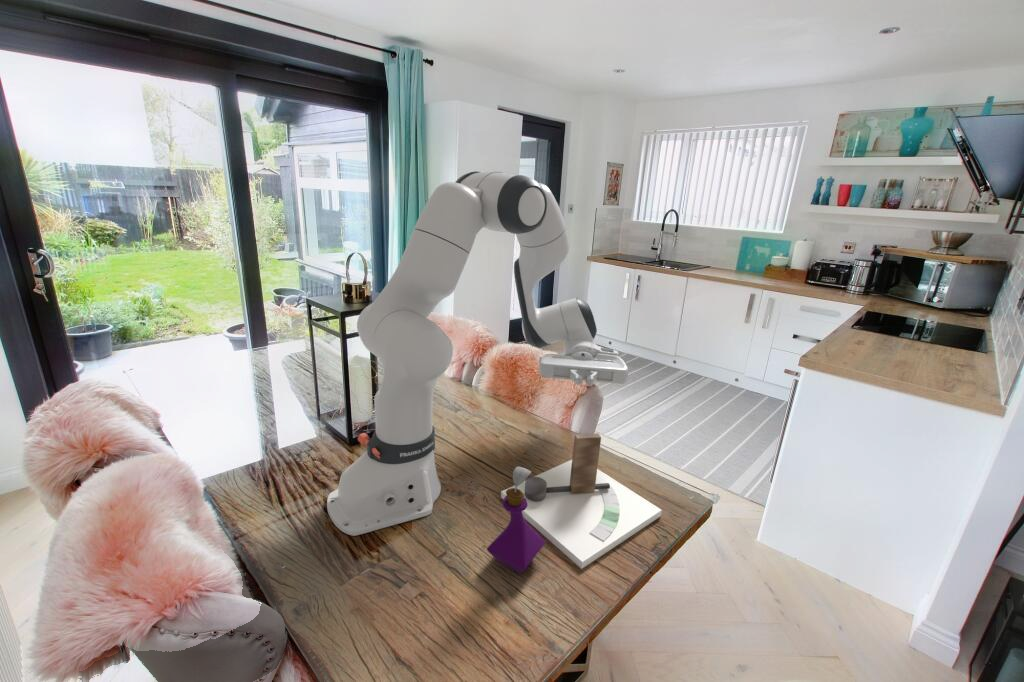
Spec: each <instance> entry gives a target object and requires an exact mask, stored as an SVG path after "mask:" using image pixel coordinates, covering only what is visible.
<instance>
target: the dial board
mask: <svg viewBox="0 0 1024 682" xmlns="http://www.w3.org/2000/svg"><path fill="white" fill-rule="evenodd" d="M571 466H572V459H569V460H568V461H566V462H563V463H561V464H559V465H557V466H555V467H553V468H550V469H548V470H546V471H543V472H541V473H538V474H537V475H534V476H533V477H540V478H542V479H544V480H545V481H546V483H547V487H560V486H569V485H570V476H571ZM526 480H527V479H526ZM526 480H525V481H526ZM525 481H524V482H523V483H522V484H520V485H519V486H517V489H519V490H520V491H521V492H523V494H524V498H525V499H526V500H527V504H528V505H527V507H526V509H525V510H524V511H522V514H523V517H524V519H525V521H526V522H527V523H529V524H530V526H533V527H534V528H535V529H536V530H537V531H538V532H540V534H541V535H543V536H544V537H545V538H546V539H547V540H548V541H549V542H550V543H551V544H553V545H554V546H555V547H556V548H557V549H559V551H560V552H562V553H563V554H564V555H565V556H567V558H568V559H570V560H571V561H572V562H573V563H575V565H576V566H578V567H579V568H580V569H581V570H582V569H584V568H585V567H587V566H588V565H590V564H591V563H593V562H594V561H596V560H597V559H598V558H600V557H602V556H603V555H605V554H606V553H608V552H609V551H611V550H613V549H614V548H616V547H617V546H618V545H620V544H622V543H623V542H624V541H626V540H627V539H629V538H631V537H632V536H634V535H635V534H636V533H638V532H639V531H641V530H642V529H644V528H645V527H647V526H649V525H650V524H651V523H653V522H655V521H656V520H657V519H659V518H660V517H661V516H662V513H663V512H662V511H663V509H660V507H658V506H656V505H655V504H653V503H651V502H650V501H649V500H647V499H645V498H644V497H642V496H641V495H639V494H637V493H636V492H635V491H633V490H631V489H630V488H628V487H627V486H625V485H623V484H622V483H621V482H619V481H617V480H616V479H614V478H612V477H611V476H609V475H608V474H606V473H604V472H603V471H601V470H600V469H598V468H597V475H596V483H595V484H602V483H609V485H610V489H597V490H595V491H594V492H590V493H576V494H571V492H557V493H546V497H545V498H544V499H543V500H540V501H532V500H529V499H528V498H527V497H526V496H525ZM511 488H515V484H514V485H512V486H510V487H508V488H506V489H504V490H501V491H500V498H501V499H502V500H503V499H504V498H505V496H507V495H506V491H507V490H508V489H511Z"/></svg>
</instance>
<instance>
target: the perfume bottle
mask: <svg viewBox="0 0 1024 682" xmlns="http://www.w3.org/2000/svg"><path fill="white" fill-rule="evenodd" d="M531 474H532V471H531V470H529V469H527V468H525V467H521V466H516V467H515V468H514V470H513V472H512V481H513V484H514V485H515V488H511V489H508V490H507V491H506V495H507V496H505V498H504V499H502V506H503V509H504V510H506V511H507V512H510V521H509V522H508V524H507V526H506V527H505V528H504V529H503V530H502V531H501V532H500V534H499V535H498V536H496V538H495V539H494V540H493V541H491V543H490V545H488V547H487V548H486V550H487V552H488V553H489V554H490V555H491V556H492V557H493V558H494V559H495V560H496V561H497V562H498V563H499V564H501V565H502V566H505V567H506V568H508V569H510V570H512V571H514V572H516V573H517V574H521V573H522V572H524V571H525V570H526V569H527V568H528V567H529V565H530V564H531V563H532V561H533V560H534V558H535V557H536V556H537V555H538V554H539V552H540V551H541V549H542V548H543V547H544V546H545V544H546V543H547V541H546V539H544V538H543V537H542V536H541V535H540V534H539V533H538V532H537V531H536V530H535V529H534V528H533V527H532V526H531V525H529V524H528V521H527V520H526V519H525V518H524V517H523V514H522V511H524V510H525V509H526V507H527V505H528V504H527V500H526V499H525V498H524V494H523V492H521V491H520V490H519V489H517V486H519V485H520V484H522V483H523V482H524V481H525V480H527V479H528V478H529V476H530V475H531Z"/></svg>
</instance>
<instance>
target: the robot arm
mask: <svg viewBox="0 0 1024 682" xmlns="http://www.w3.org/2000/svg"><path fill="white" fill-rule="evenodd" d="M564 219H565V218H564V215H563V213H562V211H561V208H560V206H559V203H558V202H557V199H556V198H555V196H554V194H553V192H552V190H550V188H549V186H547V185H546V184H544V183H541V182H538V181H537V180H535V179H533V178H531V177H529V176H526V175H523V174H522V175H521V174H518V175H515V174H511V173H505V172H502V171H476V170H475V171H471V172H468V173H465V174H463V175H461V176H460V177H459V178H457V180H455V181H453V182H452V181H450V182H449V181H448V182H444V183H441V184H439V186H437V187H436V188H435V190H434V191H433V192H432V194H431V196H430V197H429V199H428V201H427V202H426V203H425V205H424V207H423V209H422V211H421V212H420V214H419V216H418V218H417V221H416V223H415V224H414V225H415V226H414V227H413V230H412V233H411V235H410V237H409V240H408V242H407V245H406V246H405V249H404V252H403V253H402V256H401V259H400V261H399V263H398V265H397V267H396V269H395V271H394V273H393V274H392V275H391V278H390V279H389V280H388V281H387V283H386V284H385V286H384V288H382V290H381V291H380V293H379V294H378V296H377V297H376V298H375V300H374V301H373V302H372V303H370V304H368V305H367V306H366V307H365V308H363V310H362V311H361V312H360V314H359V316H358V317H357V322H356V329H357V334H358V336H359V338H360V341H361V342H362V345H364V347H365V349H367V351H369V352H370V353H371V354H372V355H374V356H375V357H376V358H378V359H379V361H380V363H381V367H382V380H381V384H380V388H379V389H378V390H377V392H376V393H375V395H374V398H373V400H374V401H373V402H374V421H375V430H374V432H373V434H372V436H371V437H370V436H369V435H368V434H367V433H365V432H363V433H359V436H358V437H357V441H358V442H359V443H360V445H361V446H363V447H366V451H365V452H364V453H362V455H360V457H358V458H357V460H355V461H354V462H352V464H350V466H348V467H347V468H346V469H345V470H344V471H343V472H342V474H340V479H339V483H338V488H337V489H335V490H333V491H331V492H330V493H329V494H328V496H327V499H326V508H327V509H326V510H327V513H328V516H329V518H330V520H331V521H332V523H333V524H334V525H335V527H337V528H338V529H339V530H340V531H341V532H343V534H344V533H345V534H346V535H349V536H352V537H353V536H354V537H355V536H359V535H363V534H368V533H370V532H374V531H378V530H381V529H384V528H388V527H391V526H396V525H398V524H402V523H405V522H410V521H413V520H416V519H419V518H423V517H426V516H430V514H432V512H433V507H434V503H435V501H436V500H437V499H438V498H439V496H440V494H441V490H442V485H441V481H440V479H439V475H438V472H437V467H436V461H435V452H434V451H435V448H436V435H435V434H436V433H435V431H436V430H435V426H434V425H433V420H434V419H433V409H434V408H433V405H434V403H433V401H434V393H435V388H436V384H437V382H438V379H439V378H440V377H441V376H442V375H443V374H445V372H447V370H448V368H449V367H450V365H451V363H452V360H453V357H454V356H453V355H454V347H453V343H452V340H451V339H450V337H449V336H448V335H447V333H446V332H445V331H444V330H443V329H442V328H441V327H440V326H439V325H438V324H437V323H436V322H434V321H433V320H431V319H430V318H429V316H430V315H431V314H432V312H433V311H434V309H435V308H436V307H437V306H438V305H439V303H440V302H442V301H443V300H444V299H445V298H449V296H451V295H452V294H453V293H454V291H455V290H456V288H457V284H458V283H459V280H460V277H461V275H462V273H463V271H464V268H465V267H466V266H465V265H466V263H467V260H468V258H469V256H470V253H471V251H472V248H473V245H474V242H475V239H476V238H477V237H476V236H477V234H478V233H479V232H480V231H481V230H482V229H483V228H485V229H487V230H489V231H494V232H502V233H510V234H513V235H515V236H516V238H517V241H518V245H519V250H520V252H519V257H518V258H517V259H516V260H515V261H514V263H513V264H514V265H513V274H514V275H513V276H514V283H515V288H516V293H517V298H518V304H519V309H520V315H521V328H522V334H523V336H524V339H525V341H526V343H527V344H528V345H530V346H532V347H535V348H536V349H542V348H544V347H547V346H550V345H552V344H555V343H559V342H563V346H562V347H563V354H557V353H556V354H555V353H547V354H544V355H543V356H541V357H539V358H538V363H539V368H538V369H539V370H538V375H539V376H540V377H542V378H545V379H557V380H559V379H560V380H570V381H572V382H574V385H576V386H582V384H583V382H585V386H587V387H593V386H594V383H606V384H616V385H624V384H626V383H627V381H628V375H629V368H628V365H627V364H626V362H625V361H624V360H623V358H621V356H619V351H618V350H615V349H611V348H605V347H602V346H599V345H597V342H596V339H595V337H596V335H597V333H598V332H597V331H598V329H597V325H596V322H595V321H596V320H595V317H594V315H593V311H592V309H591V307H590V305H589V303H587V302H586V301H585V300H584V299H581V298H578V297H575V298H570V299H568V300H565V301H560V302H558V303H553V304H552V305H548V306H544V307H540V308H539V307H536V302H535V301H536V300H535V296H534V295H535V294H534V289H535V286H537V284H538V283H539V282H540V281H541V280H542V279H544V278H545V277H546V276H548V275H549V274H551V273H552V272H553V271H555V270H557V269H558V267H559V266H561V265H562V263H563V262H564V261H565V259H566V257H567V255H568V253H569V250H570V239H569V238H570V236H569V232H568V229H567V225H566V222H565V220H564Z"/></svg>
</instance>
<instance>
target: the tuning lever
mask: <svg viewBox="0 0 1024 682" xmlns="http://www.w3.org/2000/svg"><path fill="white" fill-rule="evenodd" d="M601 441H602V436H601V435H600V434H599V433H598V432H596V433H578V434H577V433H575V434H574V439H573V449H572V458H571V460H572V466H571V476H570V485H569V486H560V487H547V483H546V481H545V480H544V479H542V478H540V477H534V476H531V477H527V478H526V481H525V496H526V497H527V498H528V499H529V500H532V501H540V500H543V499H544V498H545V497H546V493H557V492H571V494H576V493H590V492H594V491H595V490H597V489H610V485H609V483H602V484H595V483H596V475H597V469H598V467H599V458H600V450H601V449H600V448H601Z"/></svg>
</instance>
